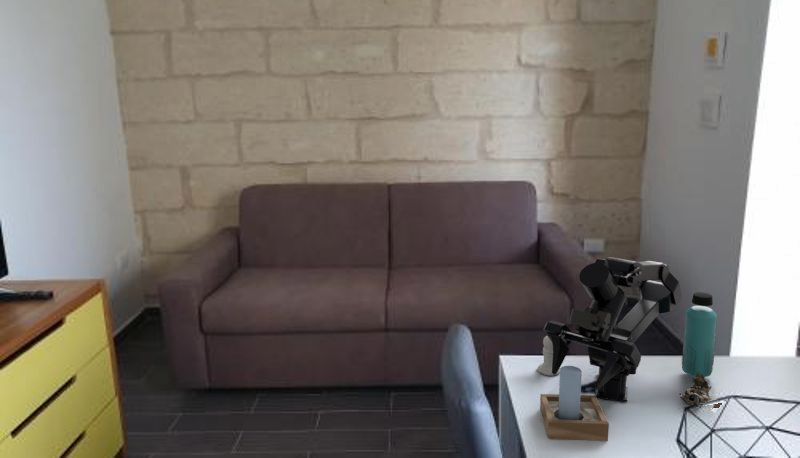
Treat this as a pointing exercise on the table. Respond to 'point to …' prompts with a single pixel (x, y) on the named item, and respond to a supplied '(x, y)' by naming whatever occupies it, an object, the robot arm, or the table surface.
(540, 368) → the chess piece
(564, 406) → the peg
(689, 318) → the beverage bottle
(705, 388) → the crumpled brown clump
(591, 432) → the walnut box
